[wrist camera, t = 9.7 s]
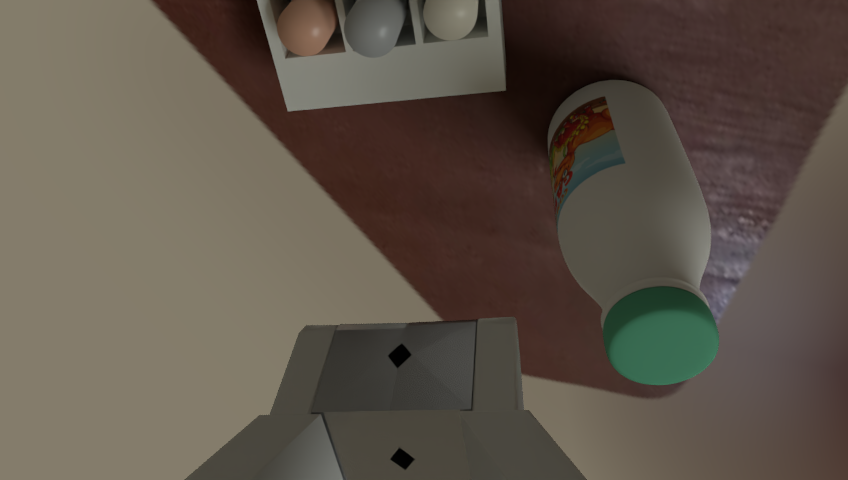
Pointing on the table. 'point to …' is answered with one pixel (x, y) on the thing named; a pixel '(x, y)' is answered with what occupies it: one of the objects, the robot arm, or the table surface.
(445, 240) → the table surface
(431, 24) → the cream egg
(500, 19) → the white compartment tray
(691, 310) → the milk bottle
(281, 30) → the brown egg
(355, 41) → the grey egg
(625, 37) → the table surface
